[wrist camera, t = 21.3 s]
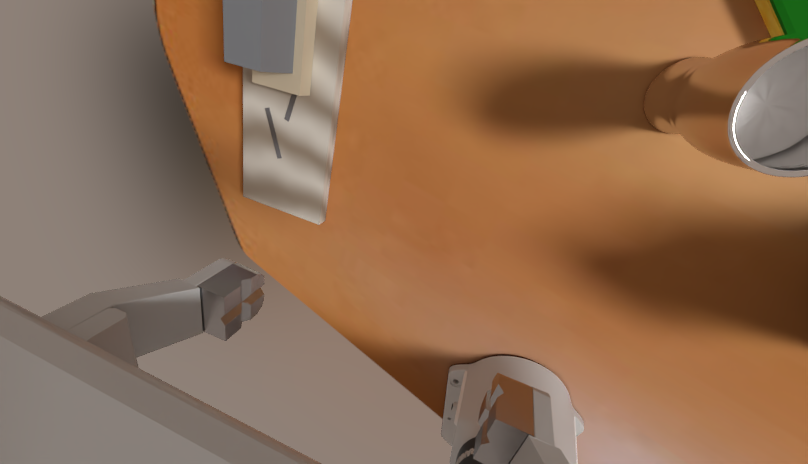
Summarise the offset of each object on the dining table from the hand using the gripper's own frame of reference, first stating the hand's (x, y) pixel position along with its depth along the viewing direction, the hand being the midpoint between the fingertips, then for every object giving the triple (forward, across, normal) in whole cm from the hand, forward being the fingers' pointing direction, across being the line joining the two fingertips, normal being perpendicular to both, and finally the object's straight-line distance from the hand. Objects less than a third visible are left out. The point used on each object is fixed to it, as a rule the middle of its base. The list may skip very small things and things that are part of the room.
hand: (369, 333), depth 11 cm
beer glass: (+29, -15, -10) cm, 34 cm away
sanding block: (+28, +23, -8) cm, 37 cm away
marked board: (+29, +23, -1) cm, 37 cm away
